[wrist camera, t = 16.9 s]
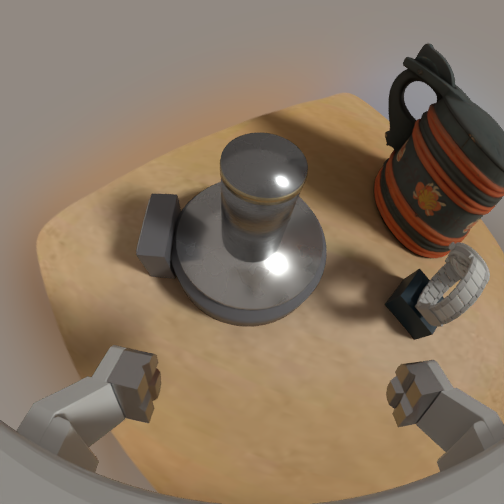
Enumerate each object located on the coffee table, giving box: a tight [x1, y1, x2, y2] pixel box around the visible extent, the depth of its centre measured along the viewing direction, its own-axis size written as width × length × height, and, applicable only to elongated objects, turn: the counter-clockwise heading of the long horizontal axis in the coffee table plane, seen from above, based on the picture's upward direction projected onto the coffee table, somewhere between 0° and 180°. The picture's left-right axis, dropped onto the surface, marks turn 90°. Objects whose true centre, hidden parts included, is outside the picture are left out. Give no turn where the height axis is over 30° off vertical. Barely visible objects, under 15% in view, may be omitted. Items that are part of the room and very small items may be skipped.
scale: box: [136, 190, 326, 326], centre depth 24 cm, size 14×16×5 cm
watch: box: [385, 242, 490, 339], centre depth 21 cm, size 6×8×11 cm
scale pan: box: [176, 182, 323, 311], centre depth 24 cm, size 13×13×1 cm
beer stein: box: [374, 44, 504, 258], centre depth 23 cm, size 19×15×20 cm
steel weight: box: [220, 133, 308, 263], centre depth 19 cm, size 5×5×9 cm
